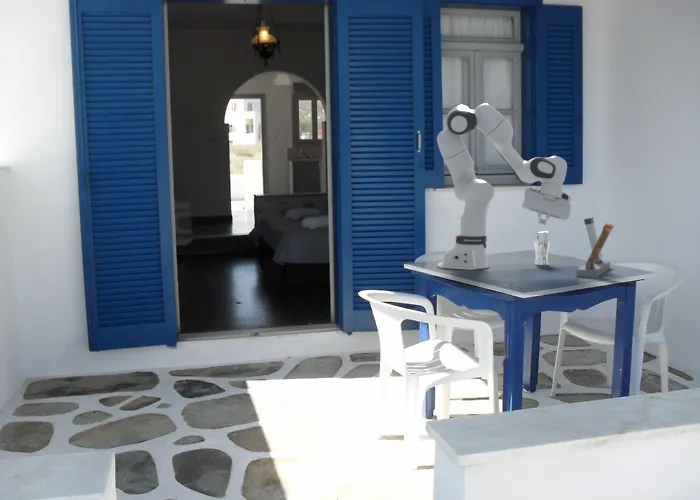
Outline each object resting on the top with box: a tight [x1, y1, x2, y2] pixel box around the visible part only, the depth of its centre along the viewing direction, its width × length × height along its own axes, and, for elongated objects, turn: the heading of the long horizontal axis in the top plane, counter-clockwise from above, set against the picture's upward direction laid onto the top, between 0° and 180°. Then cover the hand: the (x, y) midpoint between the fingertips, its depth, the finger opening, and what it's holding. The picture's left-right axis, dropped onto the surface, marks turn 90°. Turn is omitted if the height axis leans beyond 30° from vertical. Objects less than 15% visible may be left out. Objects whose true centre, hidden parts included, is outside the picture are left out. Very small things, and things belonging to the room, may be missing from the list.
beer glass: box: [533, 230, 551, 266], centre depth 339 cm, size 7×7×15 cm
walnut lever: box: [586, 222, 615, 267], centre depth 306 cm, size 3×5×19 cm, turn 152°
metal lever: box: [583, 217, 603, 262], centre depth 325 cm, size 3×5×19 cm, turn 151°
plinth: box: [576, 254, 611, 279], centre depth 317 cm, size 8×30×6 cm, turn 151°
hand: (541, 223), depth 319 cm, fingers closed
